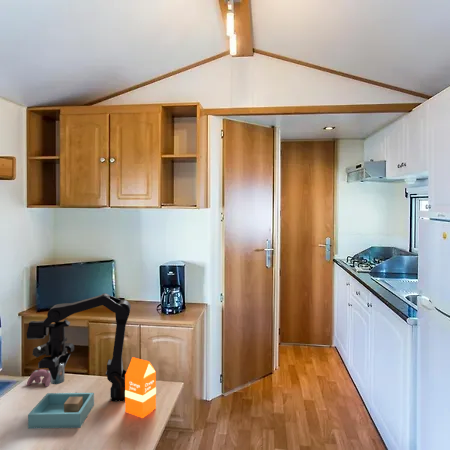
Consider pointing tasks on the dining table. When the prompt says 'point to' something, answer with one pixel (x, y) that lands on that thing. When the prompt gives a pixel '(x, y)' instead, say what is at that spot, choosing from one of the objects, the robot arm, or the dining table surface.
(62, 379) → the steel cylinder
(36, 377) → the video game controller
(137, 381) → the orange juice
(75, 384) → the dining table surface
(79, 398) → the walnut cube
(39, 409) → the tote
